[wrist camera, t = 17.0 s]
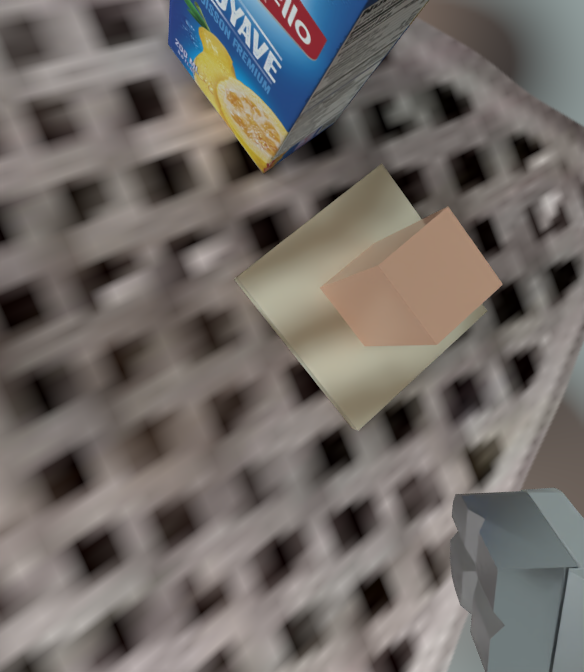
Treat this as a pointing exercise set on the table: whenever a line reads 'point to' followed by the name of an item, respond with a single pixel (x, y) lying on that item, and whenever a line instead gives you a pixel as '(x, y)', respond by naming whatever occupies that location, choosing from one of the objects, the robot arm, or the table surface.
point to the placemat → (319, 313)
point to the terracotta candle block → (413, 284)
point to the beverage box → (284, 62)
